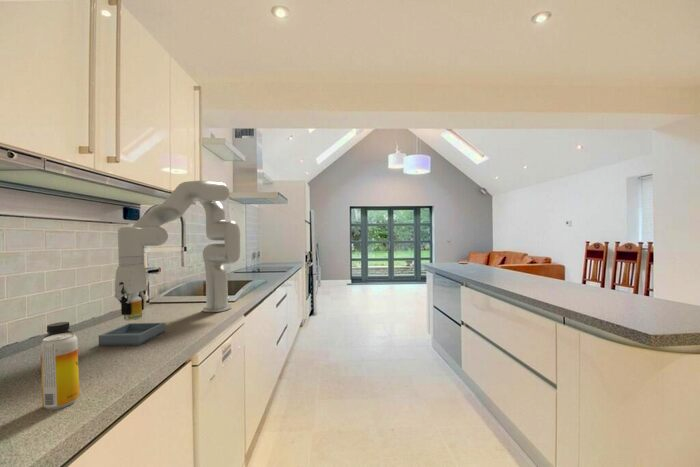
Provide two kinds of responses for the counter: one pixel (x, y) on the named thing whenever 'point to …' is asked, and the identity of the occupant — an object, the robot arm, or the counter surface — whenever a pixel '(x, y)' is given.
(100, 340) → the tray
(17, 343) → the counter surface
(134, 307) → the supplement bottle
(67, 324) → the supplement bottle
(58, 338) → the pill bottle
